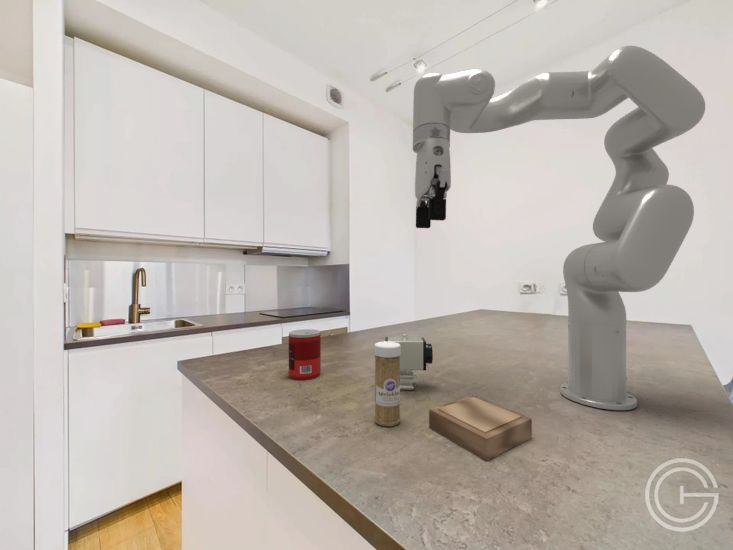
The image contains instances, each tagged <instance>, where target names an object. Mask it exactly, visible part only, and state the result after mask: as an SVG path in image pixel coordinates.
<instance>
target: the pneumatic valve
mask: <svg viewBox="0 0 733 550" xmlns="http://www.w3.org/2000/svg"><path fill="white" fill-rule="evenodd" d="M386 341H387V342H396V343H399V344H400V346H401V355H400V391H413V390H415V387H417V386H418V375H417V374H414V371H427V367H428V365H431V364H433V359H434V358H433V357H434V355H433V345H432V343H427V341H426V338H424V337H408V334H407V333H406V334H405V333H403V334H402V336H399V337H398V336H396V337H395V336H385V338H384V340H383V342H386Z"/></svg>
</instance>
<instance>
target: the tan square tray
mask: <svg viewBox="0 0 733 550" xmlns="http://www.w3.org/2000/svg"><path fill="white" fill-rule="evenodd" d="M532 421H533V420H532V418H531V417H529V416H526V415H523V414H521V413H518V412H516V411H513V410H511V409H508V408H506V407H503V406H500V405H498V404H496V403H493V402H491V401H488V400H487V399H486V400H485V399H483V398H481V397H478V396H475V395H469V396H466V397H463V398H460V399H457V400H455V401H451V402H447V403H445V404H441V405H439V406H436V407H432V408H429V409H428V428H429V429H431V430H433V431H434V432H436V433H438V434H439V435H442V436H443V437H445V438H446V439H448V440H450V441H451V442H453V443H455V444H457V445H459V446H460V447H462V448H464V449H466V450H467V451H468V452H470V453H472V454H473V455H476V456H477V457H479V458H481V459H482V460H484V461H486V462H487V461H490V460H492V459H493V458H495V457H497V456H500V455H502V454H503V453H505V452H507V451H509V450H511V449H513V448H515V447H517V446H519V445H521V444H523V443H525V442H527V441H529V440H531V439H532V438H533V434H532V433H533V432H532V431H533V429H532V428H533V427H532V426H533V425H532V423H533V422H532Z"/></svg>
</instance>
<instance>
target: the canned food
mask: <svg viewBox="0 0 733 550" xmlns="http://www.w3.org/2000/svg"><path fill="white" fill-rule="evenodd" d="M321 335H322V334H321V331H320V330H319V329H311V328H310V329H304V328H303V329H295V330H291V331H289V332H288V375H289V378H290V379H292V380H294V379H295V381H308V380H307V379H309V380H312V378H313V379H316V378H318V377H319V376H320V374H321V371H322V370H321V362H322V361H321V360H322V359H321V354H322V353H321V349H322V348H321V347H322V346H321V340H322V339H321ZM317 376H318V377H317ZM315 377H316V378H315Z"/></svg>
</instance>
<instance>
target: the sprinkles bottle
mask: <svg viewBox="0 0 733 550" xmlns="http://www.w3.org/2000/svg"><path fill="white" fill-rule="evenodd" d="M373 351H374V352H373V353H374V359H375V360H374V361H375V362H374V365H375V366H374V422H375V423H376V424H377V425H378V426H379V425H380V426H382V427H395V426H398V425H399V424H400V422H401V417H400V411H401V410H400V409H401V408H400V407H401V406H400V404H401V390H400V355H401V346H400V344H399V343H396V342H387V341H386V342H384V341H378V342H376V343H375V344H374V349H373Z"/></svg>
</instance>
